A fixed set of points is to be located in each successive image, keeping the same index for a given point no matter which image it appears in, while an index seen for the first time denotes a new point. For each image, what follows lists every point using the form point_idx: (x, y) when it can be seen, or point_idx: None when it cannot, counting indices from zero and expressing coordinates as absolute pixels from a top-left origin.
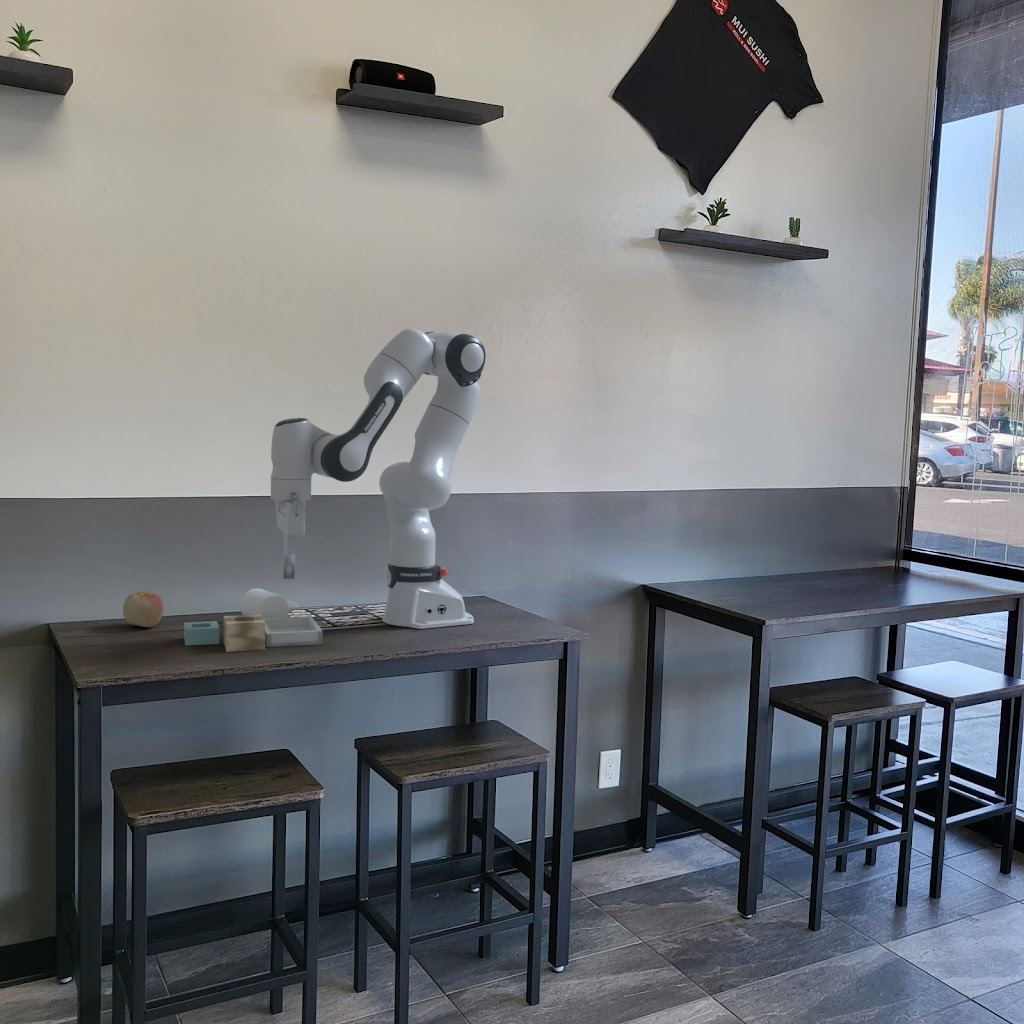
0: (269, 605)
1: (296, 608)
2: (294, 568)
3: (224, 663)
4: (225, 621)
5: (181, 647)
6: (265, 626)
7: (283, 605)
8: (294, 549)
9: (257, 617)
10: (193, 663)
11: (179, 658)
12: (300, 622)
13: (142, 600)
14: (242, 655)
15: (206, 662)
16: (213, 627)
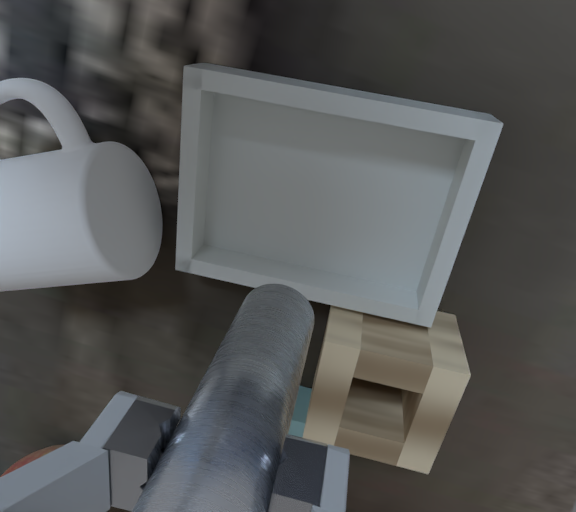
0: (122, 240)
1: (63, 96)
2: (291, 331)
3: (548, 447)
4: (381, 460)
5: None
6: (315, 293)
7: (103, 176)
8: (342, 493)
9: (374, 369)
10: (499, 494)
11: (430, 499)
12: (207, 118)
13: None
14: (487, 386)
15: (508, 472)
16: (298, 433)
